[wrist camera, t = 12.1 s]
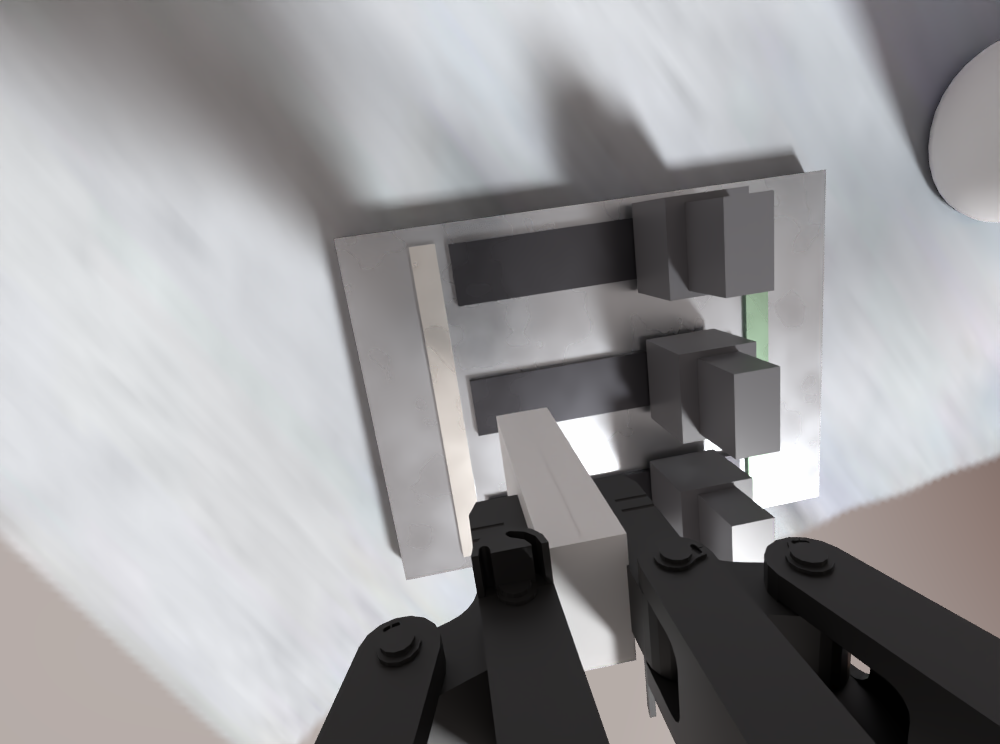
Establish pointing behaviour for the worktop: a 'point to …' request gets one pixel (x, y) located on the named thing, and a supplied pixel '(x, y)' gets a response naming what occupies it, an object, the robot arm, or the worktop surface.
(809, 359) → the panel
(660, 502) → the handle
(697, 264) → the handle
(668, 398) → the handle mid
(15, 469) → the worktop surface
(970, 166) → the milk bottle
